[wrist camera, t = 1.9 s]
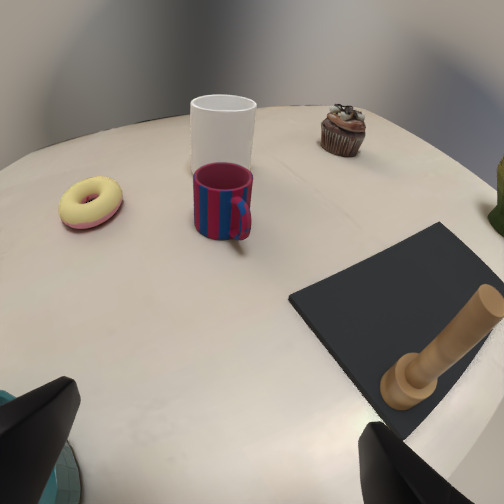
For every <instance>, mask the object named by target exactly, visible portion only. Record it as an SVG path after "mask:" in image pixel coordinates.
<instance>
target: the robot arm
mask: <svg viewBox="0 0 504 504" xmlns="http://www.w3.org/2000/svg"><path fill="white" fill-rule="evenodd" d="M80 402H81V398H80V394H79V391H78V388H77V384H76V382H75V380H74V379H71V378H69V377H66V376H62V377H60V378H58V379H56V380H53V381H51V382H49V383H47V384H45V385H43V386H41V387H39V388H37V389H35V390H32V391H30V392H28V393H26V394H24V395H22V396H20V397H18V398H15V399H13V400H11V401H9V402H7V403H5V404H2V405H0V504H38V503H39V501H40V499H41V496H42V494H43V491H44V489H45V487H46V484H47V482H48V480H49V478H50V475H51V473H52V471H53V469H54V467H55V464H56V462H57V460H58V458H59V456H60V454H61V452H62V449H63V447H64V445H65V443H66V441H67V438H68V436H69V433H70V430H71V427H72V425H73V422H74V419H75V416H76V413H77V411H78V408H79V405H80ZM358 448H359V464H360V481H361V489H362V495H363V501H364V504H474V503H473V502H471V501H470V500H469V499H467V498H466V497H465V496H464V495H463V494H461V493H460V492H459V491H458V490H456V489H455V488H454V487H453V486H451V484H450V483H449V482H447V481H446V480H445V479H444V478H443V477H442V476H441V475H439V474H438V473H437V472H436V471H435V470H434V469H433V468H432V467H430V466H429V465H428V464H427V463H426V462H425V461H424V460H423V459H422V458H421V457H419V456H418V455H417V454H416V453H415V452H414V451H413V450H412V449H411V448H410V447H408V446H407V445H406V444H405V443H404V442H403V441H402V440H401V439H400V438H399V437H398V436H397V435H396V434H394V433H393V432H392V431H391V430H390V429H389V428H388V427H387V426H386V425H385V424H384V423H382V422H380V421H378V422H369V423H368V424H367V426H366V427H365V429H364V431H363V433H362V434H361V436H360V438H359V441H358Z"/></svg>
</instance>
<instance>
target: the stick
mask: <svg viewBox="0 0 504 504" xmlns="http://www.w3.org/2000/svg"><path fill="white" fill-rule="evenodd" d="M503 317H504V298H503V297H502V295H501V294H500V293H499V292H498V291H497V290H496V289H495V288H494V287H492V286H490V285H488V284H483V285H481V286H480V287H479V288H478V290H477V291H476V292H475V293H474V295H473V296H472V297H471V298H470V300H469V301H468V302H467V303H466V304H465V306H464V307H463V308H462V309H461V310H460V311H459V313H458V314H457V315H456V316H455V317H454V318H453V319H452V320H451V322H450V323H449V324H448V325H447V326H446V327H445V328H444V329H443V330H442V331H441V332H440V333H439V334H438V336H437V337H436V338H435V339H434V340H433V341H432V342H431V343H430V344H429V345H428V346H427V347H426V348H425V349H424V350H423V351H422V352H421V353H420V354H419V353H408V354H405V355H404V356H402V357H401V358H400V359H399V360H398V361H397V362H396V363H395V364H394V365H393V366H392V367H391V368H390V369H389V370H388V371H387V372H386V373H385V374H384V375H383V377H382V379H381V382H380V392H381V395H382V398H383V399H384V401H385V402H386V403H387V404H388V405H389V406H390V407H391V408H393V409H396V410H408V409H410V408H412V407H413V406H415V405H417V404H418V403H420V402H421V401H423V400H424V399H426V398H427V397H429V396H430V395H431V394H432V393H433V392H434V390H435V388H436V385H437V378H438V377H439V376H440V375H441V374H443V373H444V372H445V371H446V370H448V369H449V368H450V367H451V366H452V365H454V364H455V363H456V362H457V361H458V360H460V359H461V358H462V357H463V356H464V355H465V354H466V353H467V352H469V351H470V350H471V349H472V348H473V347H474V346H475V345H476V344H477V343H478V342H479V341H481V340H482V339H483V338H484V337H485V336H486V335H487V334H488V333H489V332H490V331H491V330H492V329H493V328H494V327H495V326H496V325H497V324H498V323H499V322H500V321H501V320H502V318H503Z"/></svg>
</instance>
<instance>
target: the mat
mask: <svg viewBox="0 0 504 504" xmlns="http://www.w3.org/2000/svg"><path fill="white" fill-rule="evenodd" d="M483 284H488V285H490V286H492V287H494V288H495V289H496V290H497V291H498V292H499V293H500V294H501V295H502V297H503V298H504V283H503V281H502V280H501V279H500V278H499V277H498V276H497V275H496V274H495V273H494V272H493V271H492V270H491V269H490V268H489V267H488V266H487V265H486V264H485V263H484V262H483V261H482V260H481V259H480V258H479V257H478V256H477V255H476V254H475V253H474V252H473V251H472V250H471V249H470V248H469V247H467V246H466V245H465V244H464V243H463V242H462V241H461V240H460V239H459V238H458V237H457V236H455V235H454V234H453V233H452V232H451V231H450V230H449V229H447V228H446V227H445V226H444V225H443V224H442V223H441V222H437V223H435V224H433V225H432V226H430V227H428V228H426V229H424V230H422V231H420V232H418V233H417V234H415V235H413V236H411V237H409V238H407V239H405V240H403V241H401V242H399V243H397V244H395V245H393V246H391V247H390V248H388V249H386V250H384V251H382V252H380V253H378V254H376V255H374V256H372V257H370V258H367V259H365V260H363V261H361V262H359V263H357V264H355V265H353V266H351V267H349V268H347V269H345V270H343V271H341V272H338V273H336V274H334V275H332V276H330V277H328V278H326V279H324V280H321V281H319V282H317V283H315V284H313V285H310V286H308V287H306V288H304V289H302V290H299V291H297V292H295V293H293V294H291V295H289V298H288V300H289V301H290V303H291V304H292V305H293V306H294V308H295V309H296V310H297V311H298V313H299V314H300V315H301V317H302V318H303V319H304V320H305V322H306V323H307V324H308V325H309V327H310V328H311V329H312V331H313V332H314V333H315V334H316V336H317V337H318V338H319V339H320V341H321V342H322V343H323V345H324V346H325V347H326V348H327V350H328V351H329V352H330V353H331V355H332V356H333V357H334V358H335V360H336V361H337V362H338V364H339V365H340V366H341V367H342V369H343V370H344V371H345V372H346V374H347V375H348V376H349V378H350V379H351V380H352V381H353V383H354V384H355V385H356V386H357V388H358V389H359V390H360V391H361V393H362V394H363V395H364V397H365V398H366V399H367V400H368V402H369V403H370V404H371V405H372V407H373V408H374V409H375V410H376V412H377V413H378V414H379V416H380V417H381V418H382V419H383V421H384V422H385V423H386V424H387V426H388V427H389V428H390V430H391V431H392V432H393V433H394V434H396V435H397V436H398V437H399V438H400V439H401V440H402V441H403V440H405V439H406V438H407V437H408V436H409V435H410V434H411V433H412V432H413V431H414V430H415V429H416V428H417V427H418V426H419V425H420V424H421V422H422V421H423V420H424V419H425V418H426V417H427V416H428V415H429V414H430V413H431V412H432V410H433V409H434V408H435V407H436V406H437V405H438V404H439V402H440V401H441V400H442V399H443V398H444V397H445V395H446V394H447V393H448V392H449V390H450V389H451V388H452V387H453V385H454V384H455V383H456V382H457V380H458V379H459V378H460V376H461V375H462V374H463V372H464V371H465V370H466V368H467V367H468V366H469V364H470V363H471V361H472V360H473V359H474V357H475V356H476V354H477V353H478V351H479V350H480V348H481V347H482V345H483V344H484V342H485V341H486V339H487V338H488V336H489V334H490V333H491V331H492V330H491V331H490V332H489V333H488V334H487V335H486V336H485V337H484V338H483V339H482V340H481V341H479V342H478V343H477V344H476V345H475V346H474V347H473V348H472V349H471V350H470V351H469V352H467V353H466V354H465V355H464V356H463V357H462V358H461V359H460V360H458V361H457V362H456V363H455V364H454V365H452V366H451V367H450V368H449V369H448V370H446V371H445V372H444V373H443V374H441V375H440V376H439V377H438V378H437V385H436V388H435V390H434V392H433V393H432V394H431V395H430V396H429V397H427V398H426V399H424V400H423V401H421V402H420V403H418V404H417V405H415V406H413V407H412V408H410V409H408V410H396V409H393V408H391V407H390V406H389V405H388V404H387V403H386V402H385V401H384V399H383V398H382V395H381V392H380V382H381V379H382V377H383V375H384V374H385V373H386V372H387V371H388V370H389V369H390V368H391V367H392V366H393V365H394V364H395V363H396V362H397V361H398V360H399V359H400V358H401V357H402V356H404V355H405V354H408V353H419V354H420V353H421V352H422V351H423V350H424V349H425V348H426V347H427V346H428V345H429V344H430V343H431V342H432V341H433V340H434V339H435V338H436V337H437V336H438V334H439V333H440V332H441V331H442V330H443V329H444V328H445V327H446V326H447V325H448V324H449V323H450V322H451V320H452V319H453V318H454V317H455V316H456V315H457V314H458V313H459V311H460V310H461V309H462V308H463V307H464V306H465V304H466V303H467V302H468V301H469V300H470V298H471V297H472V296H473V295H474V293H475V292H476V291H477V290H478V288H479V287H480V286H481V285H483Z"/></svg>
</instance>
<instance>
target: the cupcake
mask: <svg viewBox="0 0 504 504" xmlns="http://www.w3.org/2000/svg"><path fill="white" fill-rule="evenodd" d="M342 107H346V108H345V109H343V108H342ZM330 111H331V112H330V113H328V114H327V118H326V119H325V120H324V121H323V122H322V123H321V129H322V135H321V146H322V148H324V149H326V150H327V151H328V152H330V153H332V154H335V155H338V156H343V157H354V156H355V155H356V153H357V151H358V149H359V148H360V146H361V144H362V142H363V140H364V138H365V128H366V126H365V123H364V119H365V115H364V114H362V112H359V111H356V110H353V107H352V106H342V105H341V104H335V105H334V106H332V107H330Z"/></svg>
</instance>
